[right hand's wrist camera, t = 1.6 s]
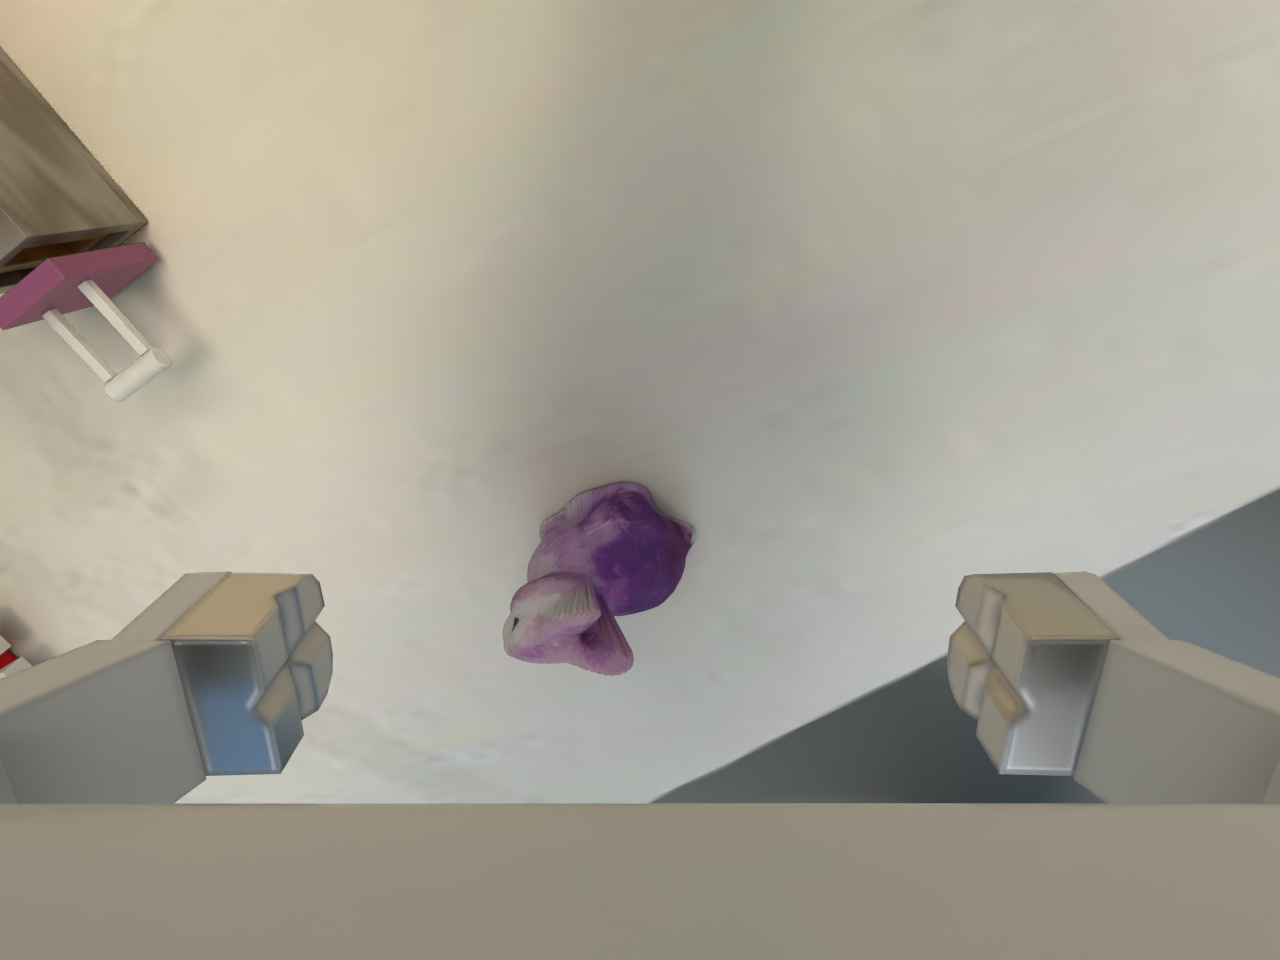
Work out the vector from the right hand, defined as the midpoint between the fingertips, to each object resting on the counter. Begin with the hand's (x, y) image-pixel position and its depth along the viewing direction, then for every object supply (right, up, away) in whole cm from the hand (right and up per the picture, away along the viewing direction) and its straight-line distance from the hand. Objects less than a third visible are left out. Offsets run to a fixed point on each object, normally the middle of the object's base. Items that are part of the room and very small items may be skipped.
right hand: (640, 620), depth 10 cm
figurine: (-2, -2, +45) cm, 45 cm away
